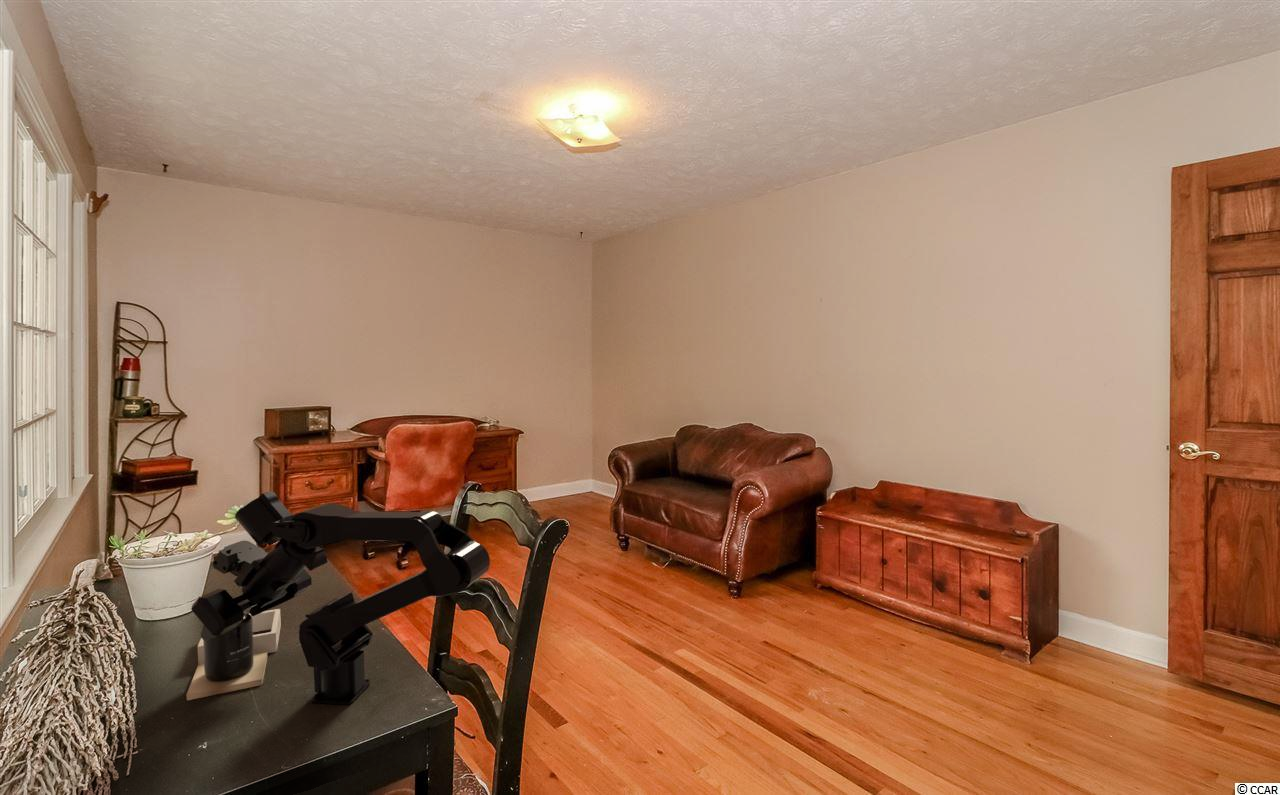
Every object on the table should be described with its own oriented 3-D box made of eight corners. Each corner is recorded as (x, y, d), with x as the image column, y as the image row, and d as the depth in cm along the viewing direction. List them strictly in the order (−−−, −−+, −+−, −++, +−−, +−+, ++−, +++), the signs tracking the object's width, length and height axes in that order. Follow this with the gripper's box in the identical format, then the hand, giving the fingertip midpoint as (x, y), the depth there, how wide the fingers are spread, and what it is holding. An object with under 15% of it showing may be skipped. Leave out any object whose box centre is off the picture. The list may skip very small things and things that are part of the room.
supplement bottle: (241, 681, 99) (238, 609, 98) (195, 684, 98) (191, 611, 97) (262, 660, 106) (259, 592, 105) (219, 662, 105) (215, 594, 104)
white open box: (280, 625, 121) (280, 608, 121) (276, 651, 111) (275, 632, 111) (209, 638, 116) (208, 620, 116) (198, 666, 106) (197, 646, 106)
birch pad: (267, 657, 109) (267, 652, 109) (262, 684, 100) (261, 679, 100) (198, 670, 104) (198, 664, 104) (186, 700, 96) (186, 694, 96)
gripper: (294, 512, 108) (244, 569, 111) (198, 545, 90) (141, 612, 93) (335, 559, 107) (284, 615, 110) (246, 602, 89) (187, 668, 92)
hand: (228, 625), depth 102 cm, fingers open, 9 cm apart
